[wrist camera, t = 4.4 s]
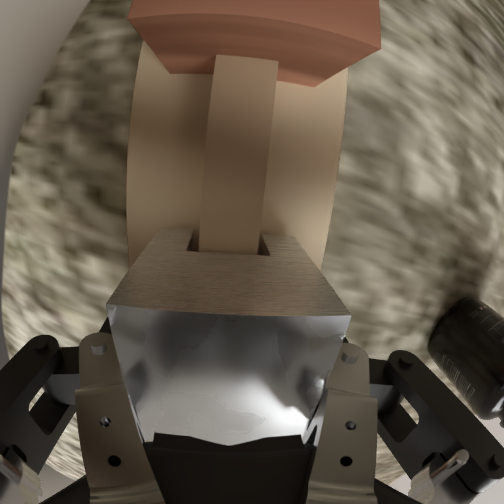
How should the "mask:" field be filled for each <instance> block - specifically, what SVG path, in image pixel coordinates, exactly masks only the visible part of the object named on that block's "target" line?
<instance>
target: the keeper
mask: <svg viewBox="0 0 504 504" xmlns="http://www.w3.org/2000/svg"><path fill="white" fill-rule="evenodd" d="M193 241H194V229H182V228H164V227H161V228H160V229H159V231H158V232H157V233H156V234H155V236H154V237H153V238H152V240H151V241H150V242H149V244H148V245H147V246H146V248H145V249H144V250H143V252H142V253H141V254H140V256H139V257H138V258H137V260H136V261H135V263H134V264H133V265H132V267H131V268H130V269H129V271H128V272H127V274H126V275H125V277H124V278H123V279H122V281H121V282H120V284H119V285H118V287H117V288H116V290H115V291H114V293H113V294H112V295H111V297H110V298H109V300H108V302H107V303H106V307H107V313H108V318H109V323H110V327H111V332H112V336H113V341H114V345H115V349H116V353H117V357H118V360H119V362H120V363H122V366H123V370H124V373H125V378H126V382H127V386H128V390H129V394H130V398H131V401H132V404H133V406H135V408H136V411H137V414H138V417H139V421H140V424H141V427H142V430H143V433H144V436H145V438H146V440H151V441H153V438H154V432H157V433H164V434H173V435H183V436H191V437H195V438H199V439H202V440H206V441H210V442H214V443H218V444H222V445H235V444H240V443H244V442H249V441H253V440H257V439H261V438H265V437H276V436H289V435H299V434H301V438H302V436H303V434H304V431H305V427H306V423H307V419H308V417H309V415H310V412H311V411H315V409H316V407H317V404H318V402H319V400H320V398H321V394H322V389H323V383H324V379H325V377H326V374H327V372H328V370H332V369H333V367H334V364H335V361H336V359H337V356H338V354H339V351H340V348H341V345H342V343H343V340H344V337H345V334H346V331H347V328H348V326H349V323H350V320H351V316H352V315H351V314H350V312H349V311H348V309H347V308H346V306H345V305H344V304H343V302H342V301H341V299H340V298H339V297H338V295H337V294H336V292H335V291H334V290H333V288H332V287H331V285H330V284H329V283H328V281H327V280H326V278H325V277H324V276H323V274H322V273H321V272H320V270H319V269H318V268H317V266H316V265H315V263H314V262H313V261H312V259H311V258H310V257H309V255H308V254H307V253H306V251H305V250H304V249H303V247H302V246H301V245H300V243H299V242H298V241H297V239H296V238H295V237H294V236H286V235H273V234H261V242H260V251H259V255H243V254H226V253H210V252H194V251H193Z"/></svg>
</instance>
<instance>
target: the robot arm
mask: <svg viewBox="0 0 504 504" xmlns="http://www.w3.org/2000/svg"><path fill="white" fill-rule="evenodd" d="M41 387H43V389H44V393H43V394H42V395H41V397H40V398H39V399H38V401H37V402H36V403H35V405H34V406H33V407H32V409H31V410H30V411H29V404H30V402H31V400H32V399H33V398H34V397H35V395H36V394H37V393H38V391H39V390H40V389H41ZM404 397H405V399H406V400H407V401H408V402H409V403H410V404H411V406H412V407H413V408H414V409H415V410H416V412H417V413H418V415H419V422H418V424H416V423H415V422H414V420H413V419H412V418H411V417H410V415H409V414H408V413H407V412H406V411H405V409H404V408H403V407H402V406H401V404H400V403H401V401H402V400H403V398H404ZM75 412H76V415H77V424H78V432H79V439H80V446H81V452H82V457H83V463H84V467H85V472H86V475H84V476H83V477H81V478H80V479H78V480H77V481H75V482H74V483H72V484H71V485H69V486H67V487H66V488H65V489H63V490H61V491H60V492H58V493H56V494H55V495H53V496H51V497H50V498H48V499H46V500H44V501H43V502H41V503H39V502H38V501H39V500H38V498H40V497H41V496H42V489H41V485H40V484H41V483H40V479H39V477H38V474H39V472H40V471H41V469H42V467H43V465H44V463H45V462H46V460H47V458H48V457H49V455H50V453H51V451H52V450H53V448H54V446H55V445H56V443H57V441H58V439H59V438H60V436H61V434H62V433H63V431H64V430H65V428H66V426H67V425H68V423H69V421H70V420H71V418H72V417H73V415H74V414H75ZM377 433H378V434H379V435H380V437H381V438H382V440H383V441H384V442H385V444H386V445H387V447H388V448H389V450H390V451H391V452H392V454H393V455H394V457H395V458H396V459H397V461H398V462H399V464H400V465H401V466H402V468H403V469H404V471H405V472H406V474H407V475H408V476H409V478H410V479H411V489H410V491H409V492H408V496H407V495H404V494H403V493H401V492H399V491H397V490H395V489H393V488H392V487H390V486H388V485H386V484H384V483H383V482H381V481H379V480H377V479H376V478H375V467H376V452H377ZM503 477H504V448H503V447H502V445H501V444H500V443H499V442H498V441H497V440H496V439H495V438H494V436H493V435H492V434H491V433H490V432H489V431H488V430H487V429H486V427H484V425H483V424H482V423H481V422H480V421H479V420H478V419H477V418H476V417H475V416H474V414H473V413H472V412H471V411H470V410H469V409H468V408H467V407H466V406H465V405H464V404H463V403H462V402H461V401H460V400H459V399H458V398H457V397H456V396H455V395H454V393H453V392H452V391H451V390H450V389H449V388H448V387H447V386H446V385H445V384H444V383H443V382H442V381H441V380H440V379H439V378H438V377H437V376H436V375H435V374H434V373H433V372H432V371H431V370H430V369H429V368H428V367H427V366H426V365H425V364H424V363H423V362H422V361H421V360H420V359H419V358H418V357H417V356H415V355H414V354H412V353H410V352H408V351H404V350H397V351H394V352H392V353H391V354H390V356H389V358H388V360H387V361H386V360H378V359H371V358H369V357H368V354H367V353H366V351H365V350H364V349H362V348H361V347H359V346H357V345H355V344H351V343H349V342H348V341H347V339H346V337H344V340H343V343H342V345H341V348H340V351H339V354H338V356H337V359H336V361H335V364H334V367H333V369H332V370H328V372H327V374H326V377H325V379H324V383H323V389H322V394H321V398H320V400H319V402H318V404H317V407H316V409H315V411H311V412H310V415H309V417H308V419H307V423H306V427H305V431H304V435H303V438H301V434H299V435H289V436H276V437H265V438H261V439H257V440H253V441H249V442H244V443H240V444H235V445H222V444H218V443H214V442H210V441H206V440H202V439H199V438H195V437H191V436H183V435H173V434H164V433H157V432H154V438H153V441H152V442H147V441H146V438H145V436H144V433H143V430H142V427H141V424H140V421H139V417H138V414H137V411H136V408H135V406H133V404H132V401H131V398H130V394H129V390H128V386H127V382H126V378H125V373H124V370H123V366H122V363H120V362H119V360H118V357H117V353H116V349H115V345H114V341H113V336H112V332H111V327H110V323H109V318H108V317H107V319H106V321H105V322H104V324H103V326H102V327H101V329H100V331H99V332H98V333H93V334H90V335H88V336H86V337H85V338H83V339H82V341H81V342H80V344H79V346H78V347H60V346H59V344H58V341H57V340H56V338H54V337H53V336H50V335H39V336H36V337H34V338H32V339H31V340H30V341H28V342H27V343H26V344H25V345H24V346H23V347H22V348H21V349H20V350H19V351H18V352H17V354H16V355H15V356H14V357H13V358H12V359H11V360H10V361H9V362H8V363H7V364H6V365H5V366H4V367H3V368H2V369H1V370H0V504H469V503H470V502H471V501H472V500H473V499H474V498H475V497H477V496H478V495H480V494H481V493H483V492H484V491H486V490H487V489H488V488H490V487H491V486H493V485H494V484H495V483H496V482H498V481H499V480H500V479H501V478H503Z"/></svg>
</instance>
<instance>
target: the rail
mask: <svg viewBox="0 0 504 504" xmlns="http://www.w3.org/2000/svg"><path fill="white" fill-rule="evenodd" d="M127 20H128V21H129V22H130V23H131V25H132V26H133V27H134V28H135V30H136V31H137V32H138V33H139V35H140V36H141V37H142V38H143V43H142V47H141V52H140V57H139V62H138V68H137V74H136V80H135V86H134V93H133V101H132V109H131V118H130V129H129V141H128V157H127V189H126V207H127V240H128V256H129V269H130V268H131V267H132V265H133V264H134V263H135V261H136V260H137V258H138V257H139V256H140V254H141V253H142V252H143V250H144V249H145V248H146V246H147V245H148V244H149V242H150V241H151V240H152V238H153V237H154V236H155V234H156V233H157V232H158V231H159V229H160V228H161V227H164V228H182V229H194V241H193V251H194V252H210V253H226V254H243V255H259V251H260V242H261V234H273V235H286V236H294V237H295V238H296V239H297V241H298V242H299V243H300V245H301V246H302V247H303V249H304V250H305V251H306V253H307V254H308V255H309V257H310V258H311V259H312V261H313V262H314V263H315V265H316V266H317V268H318V269H319V270H321V265H322V261H323V256H324V251H325V246H326V240H327V235H328V230H329V224H330V219H331V213H332V207H333V201H334V195H335V188H336V181H337V175H338V167H339V160H340V152H341V144H342V135H343V126H344V116H345V104H346V92H347V77H348V67H349V66H350V65H352V64H354V63H356V62H357V61H359V60H361V59H363V58H365V57H367V56H368V55H370V54H372V53H374V52H376V51H378V50H380V49H381V28H380V10H379V0H133V1H132V4H131V7H130V11H129V14H128V17H127Z"/></svg>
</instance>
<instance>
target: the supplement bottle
mask: <svg viewBox="0 0 504 504" xmlns="http://www.w3.org/2000/svg"><path fill="white" fill-rule="evenodd" d="M430 355H431V358H432V359H433V361H434V362H435V363H436V365H437V366H438V367H439V368H440V370H441V371H442V372H443V373H444V374H445V376H446V377H447V378H448V379H449V380H450V382H451V383H452V384H453V385H454V387H455V388H456V389H457V390H458V392H459V393H460V394H461V395H462V397H463V398H464V399H465V400H466V402H467V403H468V404H469V406H470V407H471V408H472V410H473V411H474V412H475V414H476V415H477V416H478V417H479V418H480V419H483V420H490V419H493V418H496V417H499V418H500V419H501V422H500V426H501V427H503V428H504V318H503V317H502V316H500V315H499V314H498V313H497V312H495V311H494V310H493V309H492V308H490V307H489V306H488V305H486V304H485V303H484V302H482V301H481V300H480V299H478V298H475V297H468V298H465V299H463V300H461V301H459V302H458V303H457V304H455V305H454V306H453V307H452V308H451V309H450V310H449V311H448V312H447V313H446V315H445V316H444V317H443V319H442V320H441V321H440V323H439V325H438V326H437V328H436V330H435V332H434V334H433V336H432V339H431V343H430Z"/></svg>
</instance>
